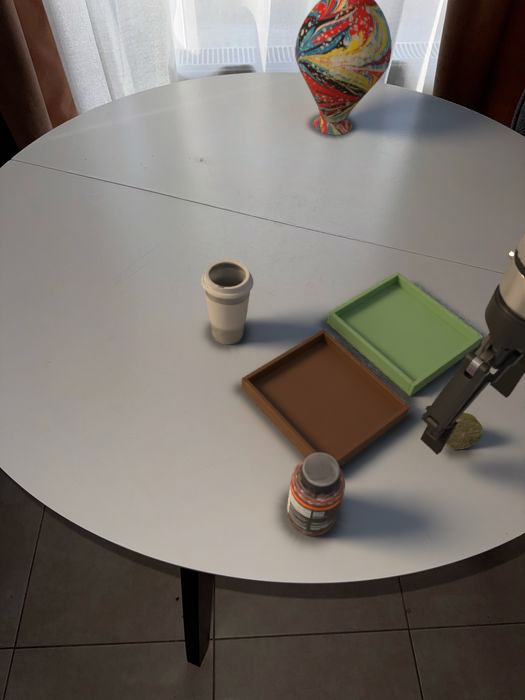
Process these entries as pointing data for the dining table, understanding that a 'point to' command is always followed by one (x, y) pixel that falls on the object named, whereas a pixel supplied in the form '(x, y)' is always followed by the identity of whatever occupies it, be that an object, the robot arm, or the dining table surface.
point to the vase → (342, 57)
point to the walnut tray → (325, 398)
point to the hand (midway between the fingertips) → (466, 416)
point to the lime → (465, 432)
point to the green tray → (404, 332)
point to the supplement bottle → (315, 494)
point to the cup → (227, 298)
